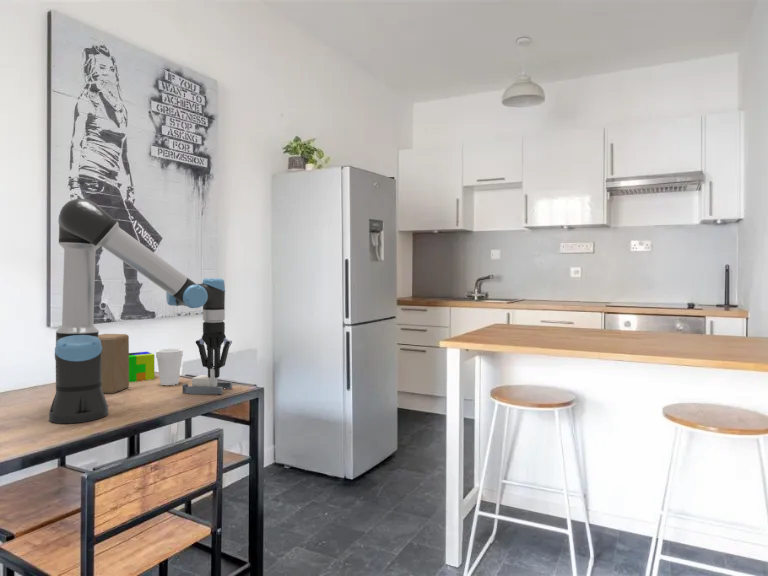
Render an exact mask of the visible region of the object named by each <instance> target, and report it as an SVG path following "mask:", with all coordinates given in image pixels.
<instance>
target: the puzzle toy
mask: <svg viewBox="0 0 768 576" xmlns="http://www.w3.org/2000/svg"><path fill="white" fill-rule="evenodd" d="M149 379H153V380H155V354H154V353H152V352H149V351H139V352H129V383H136V382H143V381H142V380H145V381H150V380H149ZM135 381H136V382H135Z"/></svg>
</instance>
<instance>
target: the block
mask: <svg viewBox="0 0 768 576" xmlns="http://www.w3.org/2000/svg"><path fill="white" fill-rule="evenodd" d="M191 386H210V378H209V377H208V374H207V375H204V374H199V375H197V376H194V377H192V380H191Z"/></svg>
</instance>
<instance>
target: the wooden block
mask: <svg viewBox="0 0 768 576" xmlns="http://www.w3.org/2000/svg"><path fill="white" fill-rule="evenodd" d="M98 338H99V339H100V340H101V345H102V351H101V380H102V381H101V385H102V391H103V394H114V393H117V392H120V391H122V390H125V389H128V388H129V385H130V382H129V353H130V351H129V350H130V344H129V343H130V341H129V339H130V338H129V334H127V333H103V334H101V333H100V334H98Z"/></svg>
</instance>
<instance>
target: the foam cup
mask: <svg viewBox="0 0 768 576" xmlns="http://www.w3.org/2000/svg"><path fill="white" fill-rule="evenodd" d="M183 352H184V351H183V349H182V348H161V349H157V350H156V351H155V354H156V355H155V357H156V360H157V367H158V375H159V381H160V382H159V383H160V386H162V385H173V386H176V385H175V384H177V385H179V382H180V375H181V368H182V361H183V354H184V353H183Z"/></svg>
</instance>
